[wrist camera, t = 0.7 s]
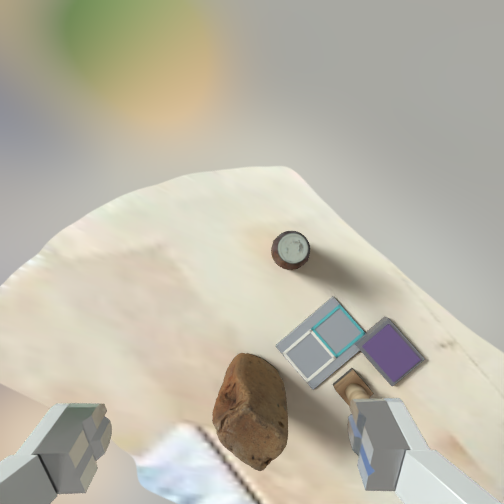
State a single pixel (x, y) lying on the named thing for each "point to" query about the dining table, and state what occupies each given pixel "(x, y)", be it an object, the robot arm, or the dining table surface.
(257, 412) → the block
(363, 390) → the stamp
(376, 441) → the robot arm
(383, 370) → the ink pad
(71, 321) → the dining table surface
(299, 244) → the sauce bottle
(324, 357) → the board
